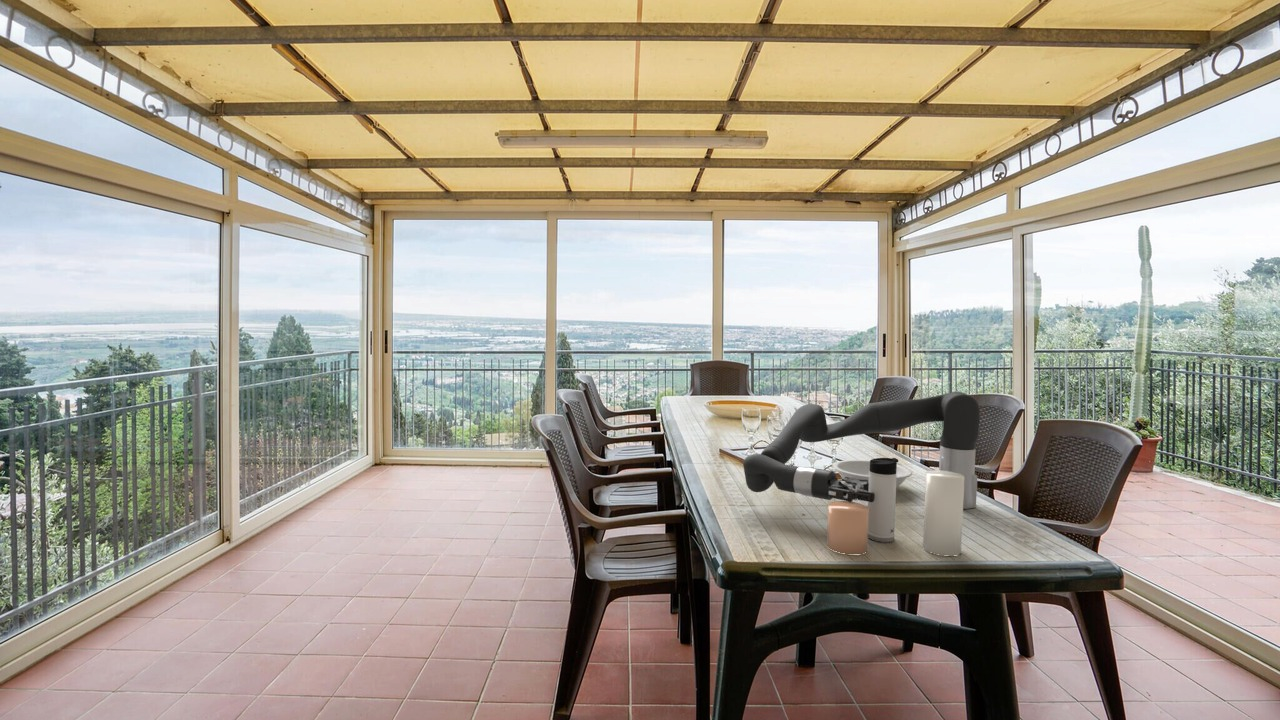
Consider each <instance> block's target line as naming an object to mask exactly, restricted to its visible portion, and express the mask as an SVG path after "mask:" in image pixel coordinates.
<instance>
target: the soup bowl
mask: <svg viewBox="0 0 1280 720" xmlns="http://www.w3.org/2000/svg"><path fill="white" fill-rule="evenodd" d="M870 460H871V459H869V460H868V459H845V460H840V461H836V462H834V463H833V464H832V468H833V469H834V470H835V471H837V473H838V474H839V475H840V477H841V479H842V478H845V477H851V478H858V479H866V480H868V482H869V469H870ZM896 471H897V472H896V473H897V475H896V476H897V478H896V488H897V487H899V486H900V485H902V484H903V483H904V482H905V480H906V479H907V478H909V477H912V475H913V471H912V470H911V469H909V468H908V467H905V466H903V465H900V464H897V469H896ZM860 486H862V487H863V484H861V485H860Z"/></svg>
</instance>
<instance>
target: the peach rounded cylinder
mask: <svg viewBox="0 0 1280 720" xmlns="http://www.w3.org/2000/svg"><path fill="white" fill-rule="evenodd" d="M868 518H869V508H868V505H865V504H863V503H859V502H855V501H852V502H849V501H844V500H834V501H831V502H829V503H828V504H827V530H826V532H827V533H826V534H827V536H826V539H827V540H826V547H827V546H828V547H829V548H830V549H832V550H834V551H837V552H840V553H845V554H863V553H865V552H867V553H868V545H869V541H868V540H869V538H868Z"/></svg>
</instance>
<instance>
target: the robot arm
mask: <svg viewBox="0 0 1280 720" xmlns="http://www.w3.org/2000/svg"><path fill="white" fill-rule="evenodd" d="M980 409H981V408H980V405H979V402H978V400H976V399H975V398H974V397H973V396H971V395H969V394H967V393H965V392H961V391H953V392H947V393H943V394H939V395H934V396H929V397H923V398H915V399H897V400H896V399H895V400H886V401H878V402H870V403H867V404H865V405H863V406H862V407H860V408H859V409H857V410H856V411H855V412H853V413H852V414H851V415H850V416H849V417H847V418H844V419H843V420H841V421H838V422H834V423H830V424H827V417H826V412H825V410H824V408H823V407H822V406H821V405H819V404H815V403H808V404H805V405H804V404H803V405H802V406H800V407H799V408H797V409H796V410H795V412H794V413H793V414H792V415H791V418H790V419H789V421H787V423H786V425H785V426H784V427H783V428H782V431H780V433H779V434H778V435H777V437H776V438H774V440H773V441H772V442H770V443H769V444H768V445H767V446H766V447H765V448H764V449H763V450H762V451H761V453H754V454H752V453H751V454H750V455H748V456H746V457H745V458H744V459H743V465H742V466H743V472H744V477H745V484H746V486H747V488H748V490H749V491H751V492H755V493H762V492H765V491H767V490H768V489H770V488H771V486H773V484H774V485H775V487H776V488H777V489H778V490H780V491H783V492H788V493H789V492H790V493H794V494H799V495H802V496H805V497H811V498H815V499H816V498H817V499H821V500H827V501H831V500H833V499H835V500H838V501H849V502H855V501H863V502H867V503H868V502H873V501H874V499H875V494H874V493H872V492H868V490H869V482H868V480H866V479H858V478H851V477H845V478H842V477H841V479H838V478H837V475H836V473H835V472H834V471H833V470H828V469H824V468H823V469H821V468H815V467H810V466H809V467H808V466H807V467H806V466H796V465H790V464H786V463H788V462H789V461H790V460H791V458H792V457H793V456H794V454H795V453H796V450H797V448H798V446H799V444H800V443H799V442H800V441H801V442H804V443H818V442H819V443H820V442H826V441H830V440H835V439H840V438H846V437H850V436H851V437H852V436H858V435H866V434H867V435H868V434H880V433H888V432H890V433H891V432H894V431H900V430H904V429H907V428H910V427H914V426H917V425H920V424H924V423H926V424H927V423H933V422H935V423H936V422H943V427H942V433H941V435H940V441H939V463H938V465H939V466H938V470H940V471H949V472H954V473H958V474H961V475H963V476H964V499H963V510H968V509H969V510H970V509H977V496H978V495H977V494H978V493H977V492H978V475H977V474H975V470H976V469H975V467H976V449H977V447H976V446H977V442H978V439H979V432H980V418H981V410H980ZM861 484H863V487H862V486H860V485H861Z"/></svg>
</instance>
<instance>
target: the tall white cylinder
mask: <svg viewBox="0 0 1280 720" xmlns="http://www.w3.org/2000/svg"><path fill="white" fill-rule="evenodd" d="M924 485H925V487H924V506H923V507H924V508H923V509H924V510H923V534H922V549H923V548H924V549H925V550H927V551H929V552H932V553H935V554H939V555H949V556H954V555H959V554H960V553H961V554H962V540H963V538H962V537H963V516H964V515H963V514H964V509H963V499H964V476H963V475H961V474H958V473H954V472H949V471H940V470H939V469H935V470H927V471H926V472H925V484H924ZM924 549H923V550H924ZM925 550H924V551H925ZM927 551H926V552H927ZM929 552H928V553H929ZM932 553H931V554H932ZM935 554H934V555H935ZM939 555H938V556H939ZM959 556H960V555H959Z"/></svg>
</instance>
